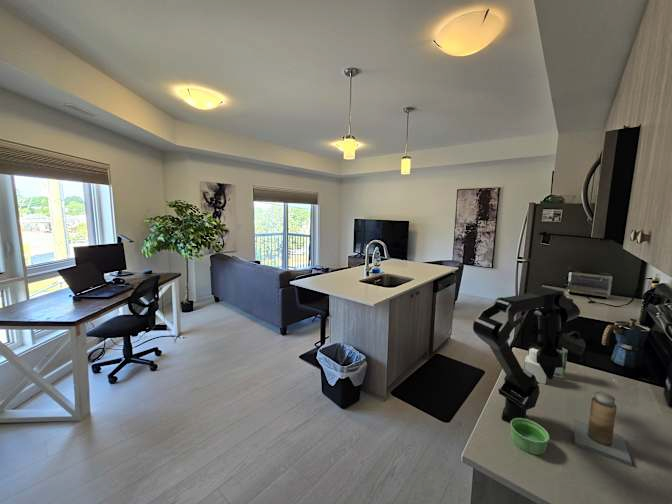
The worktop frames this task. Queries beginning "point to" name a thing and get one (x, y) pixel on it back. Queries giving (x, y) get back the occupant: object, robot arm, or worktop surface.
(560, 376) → the syrup box
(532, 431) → the ramekin
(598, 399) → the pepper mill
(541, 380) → the medicine bottle
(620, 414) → the worktop surface
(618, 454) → the slate trivet
